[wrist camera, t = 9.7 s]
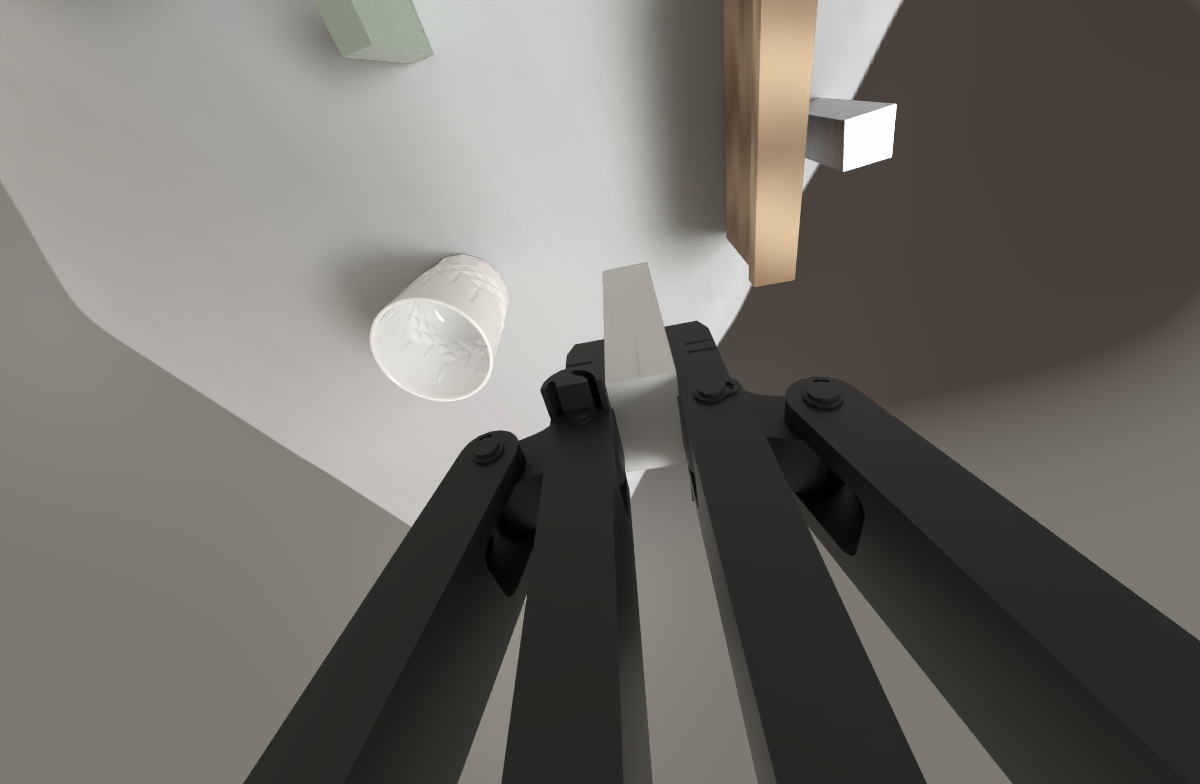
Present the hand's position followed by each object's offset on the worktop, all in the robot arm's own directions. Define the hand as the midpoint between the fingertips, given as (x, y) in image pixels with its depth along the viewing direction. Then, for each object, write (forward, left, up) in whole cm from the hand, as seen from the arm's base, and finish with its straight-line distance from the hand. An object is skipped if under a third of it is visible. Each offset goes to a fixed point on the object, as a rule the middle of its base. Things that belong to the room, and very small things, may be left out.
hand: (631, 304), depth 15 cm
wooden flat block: (-9, -2, -19) cm, 21 cm away
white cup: (+14, +4, -21) cm, 25 cm away
